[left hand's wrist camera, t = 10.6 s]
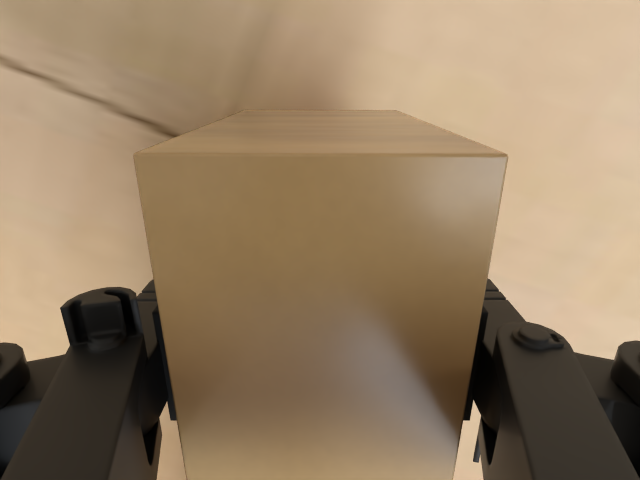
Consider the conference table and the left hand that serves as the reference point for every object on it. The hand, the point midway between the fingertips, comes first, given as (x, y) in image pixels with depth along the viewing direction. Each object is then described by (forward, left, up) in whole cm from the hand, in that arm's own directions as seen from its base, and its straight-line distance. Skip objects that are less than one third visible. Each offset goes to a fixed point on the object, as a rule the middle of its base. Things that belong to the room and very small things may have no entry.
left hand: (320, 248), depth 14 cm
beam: (+12, +20, -1) cm, 23 cm away
